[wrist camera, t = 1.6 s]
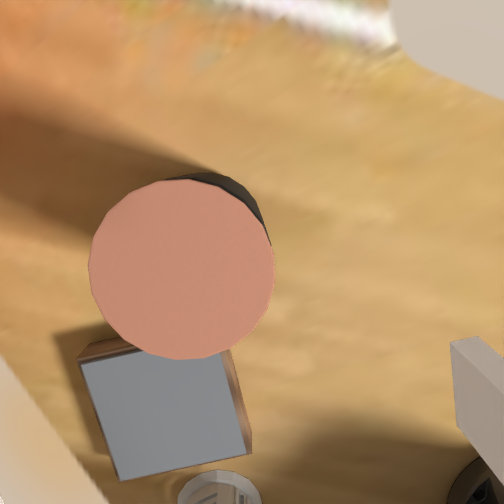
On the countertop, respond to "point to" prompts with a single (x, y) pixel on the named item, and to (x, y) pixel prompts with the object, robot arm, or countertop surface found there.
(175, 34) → the countertop surface
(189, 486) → the glass coffee plunger
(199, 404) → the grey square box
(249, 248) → the coffee jar
